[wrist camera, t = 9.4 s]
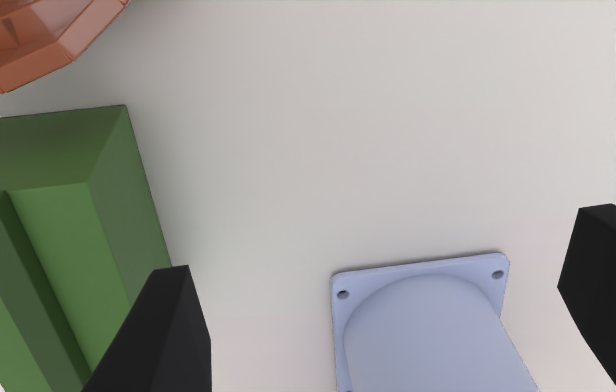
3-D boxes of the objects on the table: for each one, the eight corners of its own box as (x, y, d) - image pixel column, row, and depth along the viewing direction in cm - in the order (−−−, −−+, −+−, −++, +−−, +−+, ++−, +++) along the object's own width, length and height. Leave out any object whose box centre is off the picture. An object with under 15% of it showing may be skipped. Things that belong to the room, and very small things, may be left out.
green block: (176, 280, 22) (156, 403, 17) (57, 295, 22) (2, 423, 17) (124, 101, 18) (77, 196, 13) (-26, 117, 17) (-135, 221, 12)
